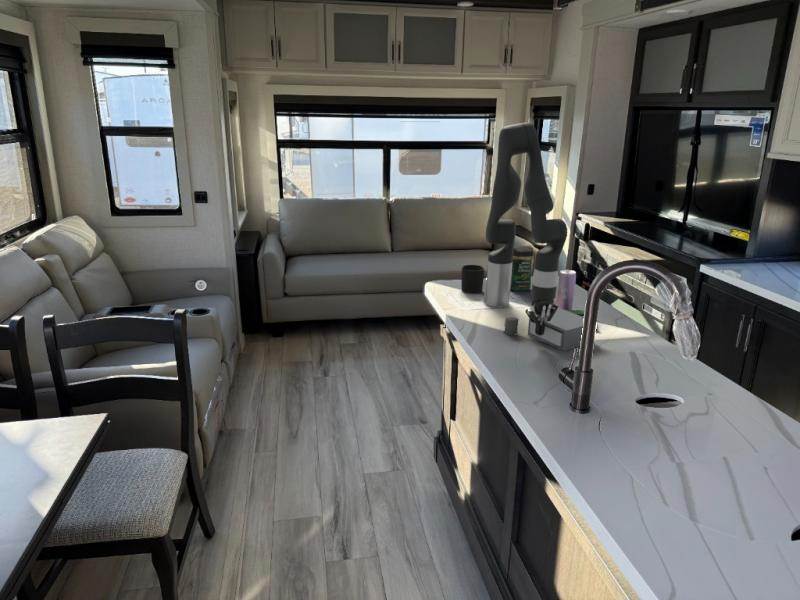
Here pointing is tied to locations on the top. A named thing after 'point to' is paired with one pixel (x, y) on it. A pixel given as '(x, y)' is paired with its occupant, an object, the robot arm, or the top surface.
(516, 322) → the pedestal
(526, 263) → the coffee jar
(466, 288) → the pen holder
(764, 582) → the top surface
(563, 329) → the box
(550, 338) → the tray
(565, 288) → the beverage can
